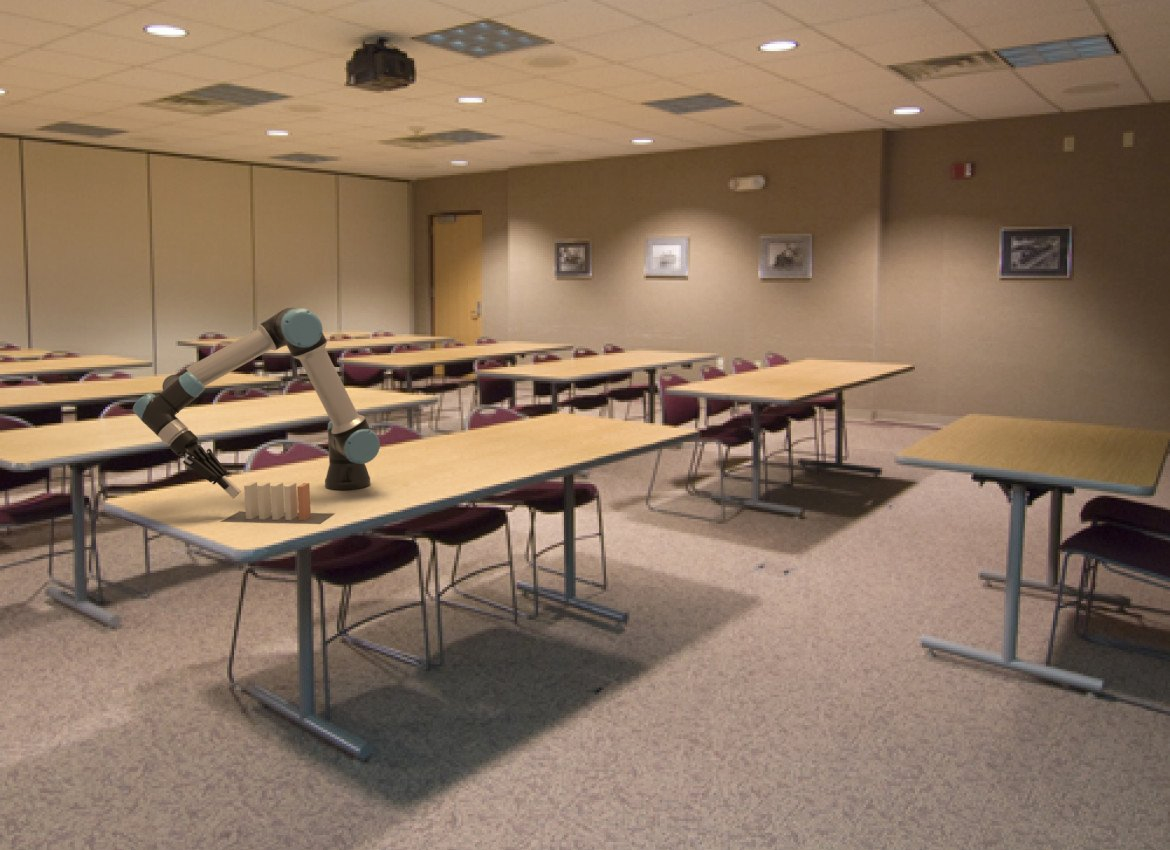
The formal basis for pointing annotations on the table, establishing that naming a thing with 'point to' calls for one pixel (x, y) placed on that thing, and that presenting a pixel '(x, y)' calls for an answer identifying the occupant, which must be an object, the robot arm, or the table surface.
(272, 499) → the domino
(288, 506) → the domino
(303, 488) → the domino
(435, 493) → the table surface
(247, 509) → the domino
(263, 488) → the domino
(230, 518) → the mat
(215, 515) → the table surface
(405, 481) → the table surface
